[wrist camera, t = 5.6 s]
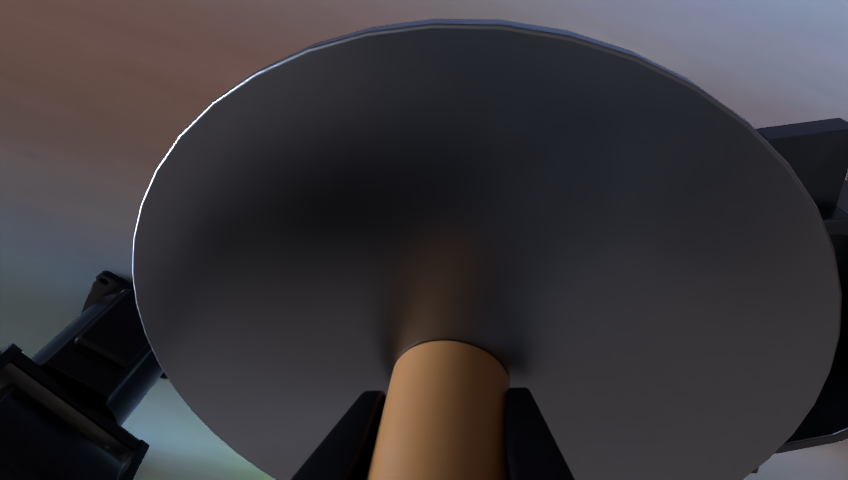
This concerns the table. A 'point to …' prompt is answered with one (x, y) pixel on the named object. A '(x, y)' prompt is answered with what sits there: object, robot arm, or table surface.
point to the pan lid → (486, 259)
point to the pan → (844, 221)
